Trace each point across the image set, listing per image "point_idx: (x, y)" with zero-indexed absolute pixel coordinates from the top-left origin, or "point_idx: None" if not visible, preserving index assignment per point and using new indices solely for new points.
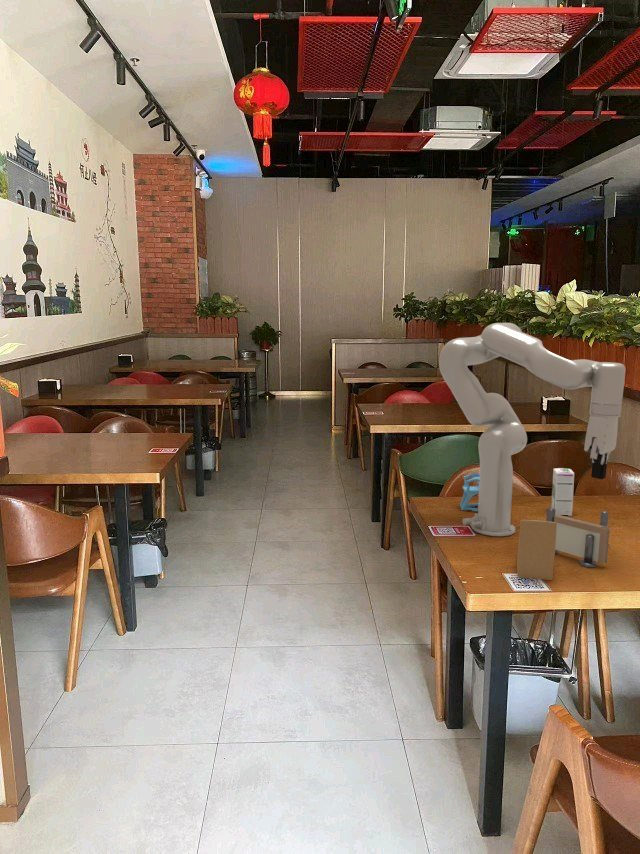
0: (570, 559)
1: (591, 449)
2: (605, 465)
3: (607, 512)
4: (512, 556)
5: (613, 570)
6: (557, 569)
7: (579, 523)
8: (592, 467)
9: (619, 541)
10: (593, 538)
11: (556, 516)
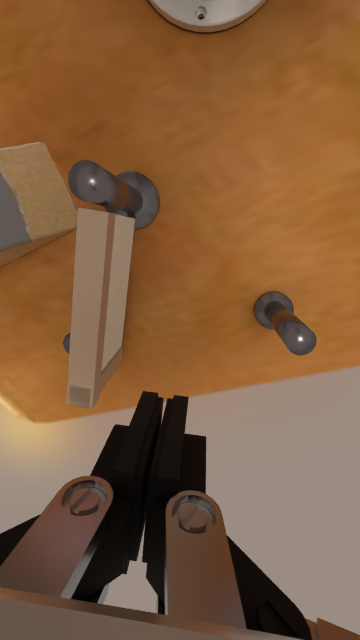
0: None
1: (64, 625)
2: (145, 560)
3: (298, 351)
4: (23, 133)
5: (115, 373)
6: (28, 270)
7: (73, 312)
8: (126, 437)
9: (345, 337)
10: None
11: (79, 216)
